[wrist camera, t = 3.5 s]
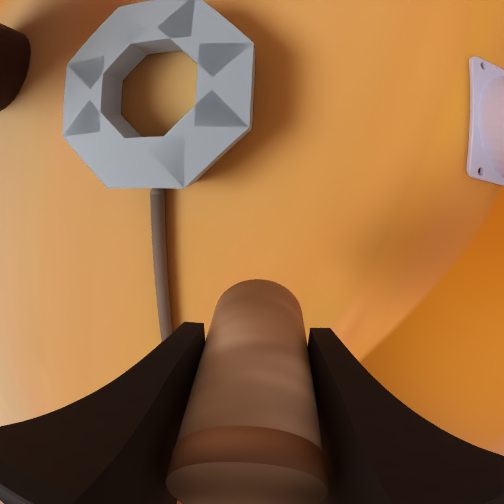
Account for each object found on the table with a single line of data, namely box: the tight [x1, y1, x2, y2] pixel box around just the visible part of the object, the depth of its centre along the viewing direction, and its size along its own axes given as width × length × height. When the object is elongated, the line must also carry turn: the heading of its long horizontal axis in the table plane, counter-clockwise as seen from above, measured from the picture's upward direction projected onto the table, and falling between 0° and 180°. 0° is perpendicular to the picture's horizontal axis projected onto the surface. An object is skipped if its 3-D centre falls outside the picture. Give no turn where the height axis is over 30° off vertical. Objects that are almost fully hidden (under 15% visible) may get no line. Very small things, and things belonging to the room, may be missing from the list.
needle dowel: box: [165, 279, 328, 504], centre depth 8 cm, size 3×3×7 cm
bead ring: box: [63, 0, 256, 189], centre depth 14 cm, size 10×10×2 cm
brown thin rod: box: [150, 188, 173, 342], centre depth 18 cm, size 11×1×1 cm, turn 177°
